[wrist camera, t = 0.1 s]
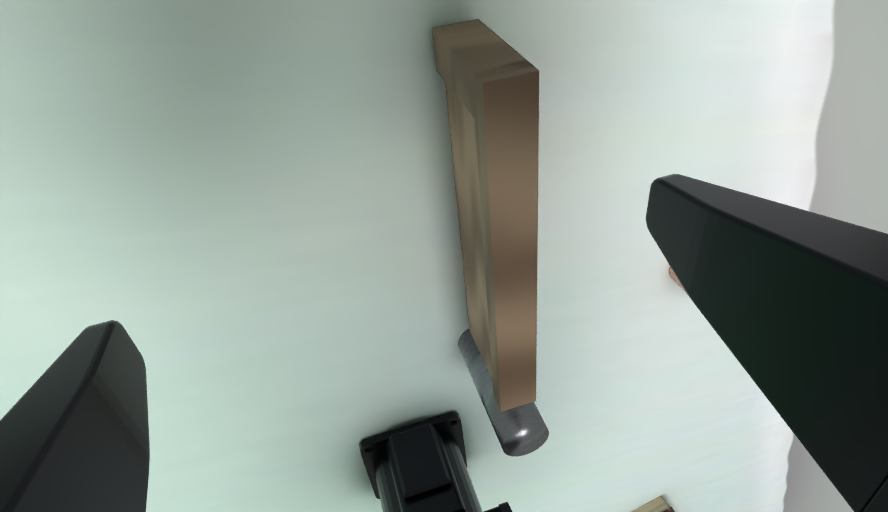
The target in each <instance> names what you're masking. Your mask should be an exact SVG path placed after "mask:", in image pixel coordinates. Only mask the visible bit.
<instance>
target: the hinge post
mask: <svg viewBox="0 0 888 512" xmlns="http://www.w3.org/2000/svg"><path fill="white" fill-rule="evenodd" d="M458 346H459V349H460V351H461V354H462V356H463V358H464V361H465V363H466V365H467V367H468V370H469V372H470V374H471V377H472V379H473V381H474V384H475V386H476V388H477V391H478V393H479V395H480V398H481V400H482V402H483V405H484V407H485V409H486V412H487V414H488V416H489V419H490V421H491V423H492V426H493V428H494V430H495V432H496V435H497V437H498V439H499V442H500V444H501V446H502V449H503V451H504V453H505V454H507V455H509V456H522V455H526V454H528V453H531V452H533V451H535V450H536V449H538V448H539V447H540V446H542V445H543V444H544V443H545V441H546V440H547V438H548V435H549V431H548V429H547V427H546V425H545V423H544V421H543V419H542V417H541V415H540V413H539V411H538V409H537V407H536V405H535V403H534V402H531V403H528V404H525V405H521V406H518V407H515V408H512V409H509V410H506V411H503V412H501V411H500V409H499V407H498V405H497V403H496V400H495V398H494V396H493V381H492V377H491V375H490V373H489V371H488V369H487V367H486V365H485V362H484V360H483V358H482V356H481V354H480V352H479V350H478V347H477V345H476V343H475V341H474V339H473V337H472V334H471V332H470V329H468V330H467V331H466V332H464V333H463V335H462V336H461V337H460V339H459V343H458Z"/></svg>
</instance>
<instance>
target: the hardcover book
mask: <svg viewBox="0 0 888 512" xmlns="http://www.w3.org/2000/svg"><path fill="white" fill-rule="evenodd" d="M633 512H674V510H673V508H672V507H670V508H669V507H668V506H667V505H666V503H665V501H664V500H663V498H662V497H661V496H660V497H658V498H656V499H654V500H652V501H651V502H649V503H647V504H645V505H643V506H642V507H640V508H638V509H636V510H634V511H633Z"/></svg>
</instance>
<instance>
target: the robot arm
mask: <svg viewBox="0 0 888 512" xmlns="http://www.w3.org/2000/svg"><path fill="white" fill-rule="evenodd" d="M646 223H647V227H648V229H649V231H650V233H651V235H652V237H653V238H654V240H655V241H656V243H657V245H658V246H659V248H660V250H661V251H662V253H663V255H664V256H665V258H666V260H667V261H668V263H669V265H670V266H671V268H672V270H673V271H674V273H675V275H676V276H677V278H678V280H679V281H680V283H681V285H682V286H683V288H684V289H685V291H686V292H687V294H688V295H689V297H690V298H691V299H692V301H693V302H694V304H695V305H696V306H697V308H698V309H699V310H700V312H701V313H702V314H703V315H704V317H705V318H706V319H707V321H708V322H709V323H710V325H711V326H712V327H713V328H714V330H715V331H716V332H717V334H718V335H719V336H720V338H721V339H722V340H723V341H724V343H725V344H726V345H727V347H728V348H729V349H730V351H731V352H732V353H733V354H734V356H735V357H736V358H737V360H738V361H739V362H740V364H741V365H742V366H743V368H744V369H745V370H746V371H747V373H748V374H749V375H750V377H751V378H752V379H753V381H754V382H755V383H756V384H757V386H758V387H759V388H760V390H761V391H762V392H763V394H764V395H765V396H766V397H767V399H768V400H769V401H770V403H771V404H772V405H773V407H774V408H775V409H776V410H777V412H778V413H779V414H780V416H781V417H782V418H783V420H784V421H785V422H786V424H787V425H788V426H789V427H790V429H791V430H792V431H793V433H794V434H795V435H796V436H797V438H798V439H799V440H800V442H801V443H802V444H803V445H804V447H805V448H806V450H807V451H808V452H809V453H810V455H811V456H812V457H813V459H814V460H815V461H816V463H817V464H818V465H819V467H820V468H821V469H822V470H823V472H824V473H825V474H826V476H827V477H828V478H829V480H830V481H831V482H832V483H833V485H834V486H835V487H836V488H837V490H838V491H839V493H840V494H841V495H842V496H843V498H844V499H845V500H846V502H847V503H848V504H849V506H850V507H851V508H852V509H853V511H854V512H888V234H886V233H883V232H879V231H876V230H872V229H868V228H865V227H861V226H858V225H854V224H851V223H847V222H844V221H840V220H837V219H833V218H830V217H826V216H823V215H819V214H816V213H812V212H809V211H805V210H802V209H798V208H795V207H791V206H788V205H784V204H781V203H777V202H774V201H770V200H767V199H763V198H760V197H756V196H753V195H749V194H746V193H742V192H739V191H735V190H732V189H728V188H725V187H721V186H718V185H714V184H711V183H707V182H704V181H700V180H697V179H693V178H690V177H686V176H683V175H679V174H672V175H668V176H664V177H660V178H657V179H655V180H654V181H653V183H652V184H651V188H650V194H649V201H648V207H647V213H646ZM359 447H360V452H361V455H362V458H363V461H364V464H365V467H366V470H367V472H368V475H369V478H370V481H371V484H372V487H373V490H374V493H375V496H376V498H378V499H380V500H381V504H382V509H383V512H482V509H481V507H480V504H479V501H478V498H477V496H476V493H475V490H474V487H473V485H472V482H471V479H470V476H469V474H468V471H467V463H466V455H465V447H464V440H463V432H462V425H461V419H460V417H459V414H458V413H450V414H447V415H443V416H440V417H437V418H434V419H431V420H428V421H424V422H421V423H418V424H415V425H412V426H408V427H405V428H402V429H399V430H396V431H393V432H389V433H386V434H383V435H380V436H377V437H373V438H370V439H367V440H364V441H363V442H361V443H360V445H359ZM149 459H150V450H149V425H148V405H147V384H146V368H145V363H144V360H143V357H142V355H141V353H140V352H139V350H138V349H137V347H136V346H135V344H134V343H133V341H132V339H131V338H130V336H129V335H128V333H127V332H126V330H125V329H124V327H123V326H122V325H121V324H120V323H119V322H118V321H114V320H111V321H107V322H103V323H99V324H96V325H92V326H89V327H87V328H86V329H84V330H83V331H82V332H81V334H80V335H79V336H78V337H77V338H76V339H75V340H74V341H73V342H72V343H71V344H70V345H69V347H68V348H67V349H66V350H65V351H64V352H63V353H62V354H61V355H60V356H59V357H58V358H57V360H56V361H55V362H54V363H53V364H52V365H51V366H50V367H49V368H48V369H47V370H46V371H45V373H44V374H43V375H42V376H41V377H40V378H39V379H38V380H37V381H36V382H35V383H34V384H33V386H32V387H31V388H30V389H29V390H28V391H27V392H26V393H25V394H24V395H23V396H22V397H21V399H20V400H19V401H18V402H17V403H16V404H15V405H14V406H13V407H12V408H11V409H10V410H9V412H8V413H7V414H6V415H5V416H4V417H3V418H2V419H1V420H0V512H146V501H147V488H148V476H149ZM484 512H512V510H511V508H510V506H509V504H508V502H505V503H502V504H499V506H498V507H496V508H493V509H490V510H487V511H484Z"/></svg>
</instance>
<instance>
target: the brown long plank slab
mask: <svg viewBox="0 0 888 512" xmlns="http://www.w3.org/2000/svg"><path fill="white" fill-rule="evenodd" d="M432 32H433V41H434V51H435V60H436V69H437V72H438V73H439V74H440V75H441V77H442V78H443V79H444V80H445V84H446V94H447V104H448V114H449V124H450V134H451V145H452V155H453V165H454V175H455V185H456V195H457V206H458V216H459V226H460V236H461V246H462V256H463V267H464V277H465V287H466V297H467V307H468V318H469V328H470V332H471V334H472V337H473V339H474V341H475V343H476V345H477V347H478V350H479V352H480V354H481V356H482V358H483V360H484V362H485V365H486V367H487V369H488V371H489V373H490V375H491V377H492V381H493V396H494V398H495V400H496V403H497V405H498V407H499V409H500V411H501V412H503V411H506V410H509V409H512V408H515V407H518V406H521V405H525V404H528V403H531V402H534V401H536V334H537V230H538V125H539V70H538V69H537V68H535V67H534V66H533V65H532V64H531V63H529V62H528V61H527V60H526V59H525V58H524V57H522V56H521V55H520V54H519V53H518V52H517V51H515V50H514V49H513V48H512V47H511V46H509V45H508V44H507V43H506V42H505V41H504V40H502V39H501V38H500V37H499V36H498V35H496V34H495V33H494V32H493V31H492V30H491V29H489V28H488V27H487V26H486V25H485V24H483V23H482V22H481V21H480V20H479V19H477V20H472V21H467V22H461V23H456V24H451V25H446V26H441V27H436V28H432Z"/></svg>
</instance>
